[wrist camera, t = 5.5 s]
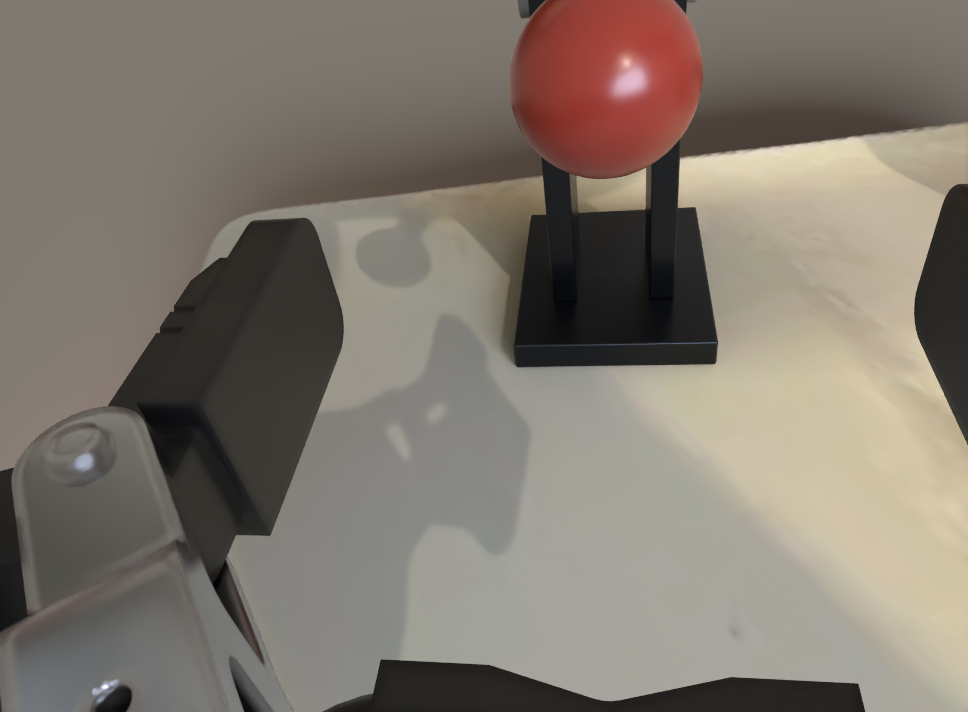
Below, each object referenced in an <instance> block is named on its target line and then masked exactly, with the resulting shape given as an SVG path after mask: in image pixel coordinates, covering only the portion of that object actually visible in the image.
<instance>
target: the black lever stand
mask: <svg viewBox="0 0 968 712" xmlns="http://www.w3.org/2000/svg"><path fill="white" fill-rule="evenodd" d="M544 1H546V0H518V7H519V13H520V17H521V18H530V17H531V16H532V14H533V13H534V12H535V11H536V10H537V9H538V8H539V6H540V5H541V4H542V3H543V2H544ZM674 1H675V2H676V3H677V4H678V5H679V6H680V8H681V9H682V10H683V11H684V12H685V14H686V5H687V3H693V2H696V0H674ZM680 140H681V138H680V139H679V140H678V142H677V143H676V144H675V145H674V146H673V147H672V148H671V149H670V150H669V151H668V152H667V153H666V154H665V155H663V156H662V157H661V158H660V159H659V160H657V161H656V162H654V163H652V164H651V165H649V166H647V167H646V210H629V211H609V212H588V213H578V203H577V184H576V175H573V174H570V173H567V172H565V171H563V170H561V169H559V168H557V167H555V166H554V165H552V164H551V163H549V162H548V161H546V160H545V159H544V158H543V157H542V156H541V157H542V169H543V181H544V193H545V205H546V215H532V216H531V221H530V228H529V236H528V243H527V250H526V258H525V265H524V273H523V280H522V288H521V295H520V302H519V310H518V317H517V325H516V332H515V339H514V353H515V360H516V366H517V367H549V366H616V365H684V364H715V363H716V358H717V347H718V339H717V333H716V327H715V321H714V315H713V309H712V303H711V297H710V291H709V285H708V279H707V273H706V266H705V260H704V254H703V248H702V242H701V236H700V230H699V224H698V218H697V212H696V208H695V207H690V208H678V188H679V165H680V142H681V141H680Z"/></svg>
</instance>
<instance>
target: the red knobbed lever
mask: <svg viewBox="0 0 968 712" xmlns="http://www.w3.org/2000/svg"><path fill="white" fill-rule="evenodd" d="M702 81H703V62H702V56H701V49H700V45H699V42H698V38H697V35H696V32H695V30H694V28H693V26H692V24H691V22H690V20H689V19H688V17H687V16H686V14H685V12H684V11H683V10H682V9H681V8H680V6H679V5H678V4H677V3H676V2H675V1H674V0H546V1H544V2H543V3H542V4H541V5H540V6H539V8H538V9H537V10H536V11H535V12H534V13H533V14H532V16H531V17H530V18H529V20H528V21H527V23H526V24H525V26H524V28H523V30H522V32H521V33H520V35H519V37H518V40H517V43H516V45H515V48H514V51H513V55H512V60H511V64H510V72H509V94H510V100H511V105H512V109H513V112H514V116H515V118H516V121H517V123H518V125H519V128H520V130H521V132H522V133H523V135H524V137H525V138H526V140H527V141H528V142H529V144H530V145H531V146H532V147H533V149H534V150H535V151H536V152H537V153H538V154H540V156H542V157H543V158H544V159H545V160H546V161H548V162H549V163H551V164H552V165H554V166H555V167H557V168H559V169H561V170H563V171H565V172H567V173H570V174H573V175H577V176H581V177H585V178H593V179H607V178H616V177H622V176H626V175H629V174H632V173H634V172H637V171H640V170H642V169H644V168H646V167H647V166H649V165H651V164H652V163H654V162H656V161H657V160H659V159H660V158H661V157H662V156H663V155H665V154H666V153H667V152H668V151H669V150H670V149H671V148H672V147H673V146H674V145H675V144H676V143H677V142H678V140H679V139H680V138H681V136H682V135H683V134H684V132H685V131H686V129H687V127H688V126H689V124H690V122H691V120H692V118H693V116H694V113H695V110H696V108H697V105H698V103H699V98H700V94H701V90H702Z"/></svg>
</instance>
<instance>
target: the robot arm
mask: <svg viewBox="0 0 968 712" xmlns="http://www.w3.org/2000/svg"><path fill="white" fill-rule="evenodd" d="M914 316H915V326H916V331H917V335H918V338H919V340H920V343H921V345H922V347H923V349H924V351H925V354H926V356H927V358H928V360H929V362H930V364H931V367H932V369H933V371H934V373H935V375H936V377H937V380H938V382H939V384H940V386H941V388H942V390H943V392H944V395H945V397H946V399H947V401H948V403H949V405H950V408H951V410H952V412H953V414H954V416H955V418H956V421H957V423H958V425H959V427H960V429H961V431H962V434H963V436H964V438H965V440H966V442H967V444H968V184H958V185H955V186H954V187H952V188H951V189H950V191H949V192H948V194H947V195H946V197H945V200H944V202H943V205H942V208H941V212H940V215H939V218H938V221H937V225H936V228H935V231H934V235H933V238H932V241H931V244H930V248H929V251H928V254H927V258H926V261H925V264H924V268H923V271H922V274H921V277H920V281H919V284H918V287H917V291H916V297H915V306H914ZM343 333H344V325H343V315H342V309H341V306H340V302H339V299H338V296H337V293H336V290H335V287H334V284H333V281H332V278H331V274H330V271H329V268H328V265H327V262H326V259H325V256H324V253H323V250H322V247H321V243H320V240H319V237H318V234H317V232H316V229H315V227H314V225H313V224H312V222H311V221H310V220H309V219H307V218H291V219H272V220H255V221H252V222H250V223H249V224H248V226H247V227H246V229H245V230H244V232H243V233H242V235H241V237H240V238H239V240H238V241H237V243H236V245H235V246H234V248H233V249H232V251H231V253H230V254H229V256H228V257H227V258H219V259H218V260H216V261H215V262H214V263H213V264H211V265H210V266H209V267H208V268H206V269H205V270H204V271H203V272H201V273H200V274H199V275H198V276H196V277H195V278H194V279H193V280H191V281H190V283H189V284H188V286H187V287H186V289H185V290H184V292H183V294H182V295H181V297H180V298H179V299H178V301H177V302H176V304H175V305H174V312H170V313H169V315H168V316H167V318H166V319H165V321H164V322H163V324H162V325H161V327H160V333H156V334H155V336H154V337H153V339H152V340H151V342H150V343H149V345H148V346H147V348H146V349H145V351H144V352H143V354H142V355H141V357H140V358H139V360H138V361H137V363H136V364H135V366H134V367H133V369H132V370H131V372H130V373H129V375H128V376H127V378H126V380H125V381H124V382H123V384H122V386H121V387H120V388H119V390H118V391H117V393H116V394H115V396H114V397H113V399H112V400H111V402H110V404H109V405H108V406H107V407H99V408H93V409H90V410H86V411H82V412H80V413H77V414H74V415H72V416H70V417H68V418H66V419H64V420H62V421H60V422H58V423H56V424H55V425H53V426H51V427H50V428H49V429H47V430H46V431H44V432H43V433H42V434H41V435H39V436H38V437H37V438H36V439H35V440H34V441H33V442H32V443H31V444H30V445H29V446H28V447H27V448H26V449H25V450H24V452H23V453H22V455H21V456H20V458H19V459H18V461H17V463H16V465H15V467H14V468H11V469H8V470H3V471H0V712H294V711H293V709H292V707H291V706H290V704H289V702H288V700H287V698H286V696H285V694H284V692H283V690H282V688H281V685H280V683H279V681H278V679H277V676H276V674H275V671H274V669H273V666H272V664H271V661H270V658H269V656H268V653H267V651H266V648H265V646H264V643H263V641H262V638H261V636H260V633H259V630H258V628H257V625H256V623H255V620H254V618H253V615H252V613H251V610H250V607H249V605H248V602H247V600H246V597H245V595H244V592H243V590H242V587H241V585H240V582H239V579H238V577H237V574H236V572H235V569H234V567H233V565H232V563H231V561H230V560H229V558H228V557H227V555H228V552H229V550H230V548H231V545H232V543H233V540H234V538H235V536H236V535H261V536H270V535H271V533H272V530H273V527H274V525H275V522H276V519H277V517H278V514H279V512H280V509H281V506H282V504H283V501H284V498H285V496H286V493H287V491H288V488H289V485H290V483H291V480H292V477H293V475H294V472H295V469H296V467H297V464H298V462H299V459H300V456H301V454H302V451H303V448H304V446H305V443H306V441H307V438H308V435H309V433H310V430H311V427H312V425H313V422H314V419H315V417H316V414H317V412H318V409H319V406H320V404H321V401H322V398H323V396H324V393H325V390H326V388H327V385H328V383H329V380H330V377H331V375H332V372H333V369H334V367H335V364H336V362H337V359H338V356H339V354H340V351H341V348H342V343H343ZM323 712H865V709H864V705H863V701H862V697H861V693H860V689H859V685H858V684H854V683H834V682H815V681H795V680H775V679H755V678H736V677H730V678H725V679H721V680H716V681H711V682H706V683H701V684H697V685H692V686H687V687H682V688H677V689H673V690H668V691H663V692H658V693H653V694H648V695H644V696H639V697H634V698H629V699H624V700H619V701H601V700H597V699H593V698H590V697H586V696H583V695H580V694H577V693H574V692H571V691H568V690H565V689H562V688H559V687H556V686H552V685H549V684H546V683H543V682H540V681H537V680H534V679H531V678H528V677H525V676H521V675H518V674H515V673H512V672H509V671H506V670H503V669H500V668H497V667H494V666H490V665H479V664H459V663H439V662H420V661H400V660H381V661H380V666H379V670H378V675H377V679H376V683H375V688H374V692H373V694H368V695H364V696H360V697H357V698H355V699H352V700H349V701H346V702H343V703H340V704H338V705H335V706H333V707H331V708H329V709H327V710H325V711H323Z"/></svg>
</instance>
